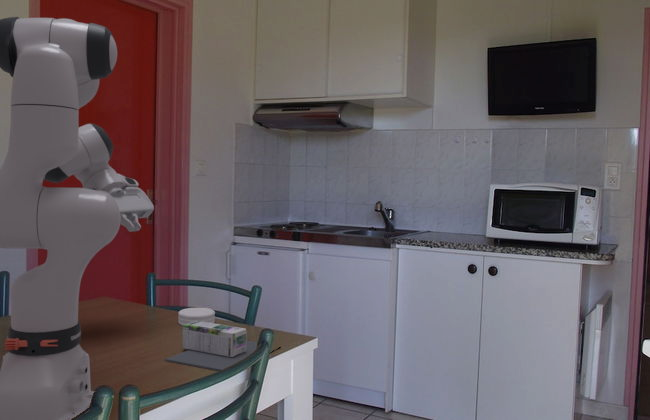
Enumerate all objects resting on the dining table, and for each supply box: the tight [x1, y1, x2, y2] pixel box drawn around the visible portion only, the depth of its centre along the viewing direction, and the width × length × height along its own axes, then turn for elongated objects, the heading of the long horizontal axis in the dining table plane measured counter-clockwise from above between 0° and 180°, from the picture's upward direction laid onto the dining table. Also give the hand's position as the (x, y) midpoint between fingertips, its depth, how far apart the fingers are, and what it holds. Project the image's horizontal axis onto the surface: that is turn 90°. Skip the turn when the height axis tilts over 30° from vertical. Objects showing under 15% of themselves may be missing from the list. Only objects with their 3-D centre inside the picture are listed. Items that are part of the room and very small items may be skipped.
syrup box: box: [182, 321, 248, 357], centre depth 150 cm, size 6×6×14 cm
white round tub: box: [177, 307, 216, 327], centre depth 177 cm, size 10×10×4 cm
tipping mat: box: [164, 340, 258, 372], centre depth 149 cm, size 17×22×1 cm
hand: (135, 229), depth 159 cm, fingers closed
